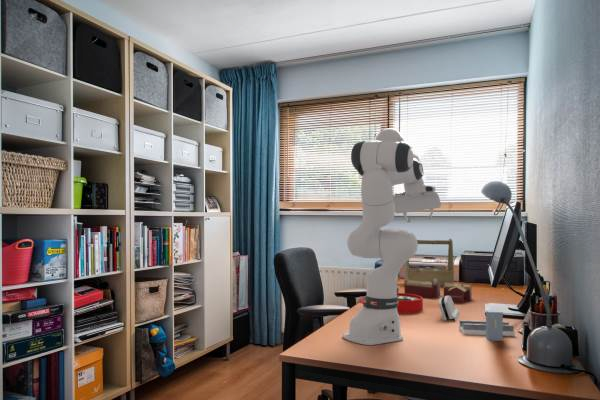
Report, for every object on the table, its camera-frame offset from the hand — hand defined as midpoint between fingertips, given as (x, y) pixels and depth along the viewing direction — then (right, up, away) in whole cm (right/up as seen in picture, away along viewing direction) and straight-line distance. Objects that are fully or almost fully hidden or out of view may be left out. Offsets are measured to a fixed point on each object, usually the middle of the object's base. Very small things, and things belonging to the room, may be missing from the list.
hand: (419, 220), depth 196 cm
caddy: (+29, -45, +84) cm, 100 cm away
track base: (+17, -41, -29) cm, 53 cm away
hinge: (+12, -42, -3) cm, 44 cm away
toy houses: (+15, -44, +43) cm, 63 cm away
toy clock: (-6, -43, +12) cm, 45 cm away
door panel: (+16, -41, -39) cm, 59 cm away
